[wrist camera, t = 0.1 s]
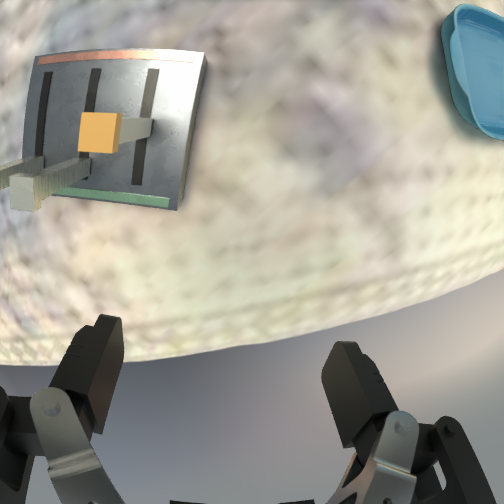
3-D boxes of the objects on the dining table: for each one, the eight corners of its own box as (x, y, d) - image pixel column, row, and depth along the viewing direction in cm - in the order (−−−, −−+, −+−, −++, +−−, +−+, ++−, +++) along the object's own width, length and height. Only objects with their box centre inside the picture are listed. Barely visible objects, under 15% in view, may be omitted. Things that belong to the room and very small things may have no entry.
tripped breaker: (132, 113, 27) (81, 112, 16) (156, 115, 28) (116, 113, 17) (128, 138, 28) (77, 151, 17) (152, 140, 29) (111, 153, 18)
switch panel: (54, 60, 27) (-31, 45, 11) (207, 61, 30) (191, 13, 14) (40, 183, 34) (-40, 227, 18) (182, 199, 37) (152, 261, 21)
